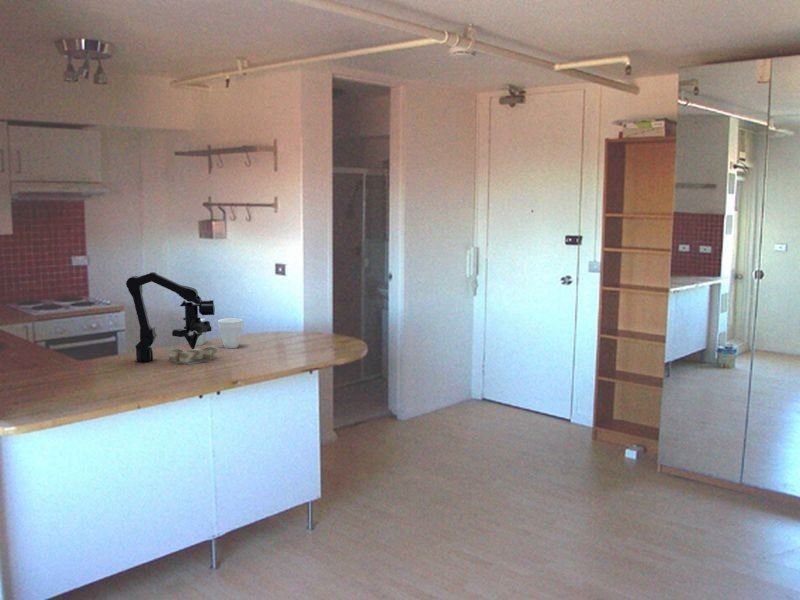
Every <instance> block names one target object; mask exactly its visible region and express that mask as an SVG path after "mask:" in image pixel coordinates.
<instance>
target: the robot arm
mask: <svg viewBox="0 0 800 600" xmlns="http://www.w3.org/2000/svg"><path fill="white" fill-rule="evenodd" d="M148 283H153V284H156V285H159V286H161V287H163V288H164V289H167V290H169V291H172V292H174V293H176V294H177V295H178V296H179V297H181V298H182V299H183V301H182V303H180V305H179V306H180V307H184V317H183V319H182V320H183V321H185V326H183V328H176V329H173V330H172V332H171V335H172V336H173V337H179V338H185V340H186V341H187V343H188V345H189V346H190V350H194V349H196V346H197V345H196V342H197V339H198V337H199V336H200V335H202V333H204V332H205V333H206V334H207V333H209V332H212V326H211V322H210V321H209V320H206V321H205V322H201V319H202V318H201V317H199V314H200V315H201V316H215V311H216V310H215V309H216V308H215V302H214V301H215V300H213V299H212V300H211V299H210V300H203V299H202V298H201V297H200V295H199V293H198V290H197V289H196V288H194V287H190V286H188V285H184V284H183V285H182V284H179V283H178V282H175V281H173V280H171V279H169V278H166V277H164V276H162V275H160V274H158V273H157V272H154V271H151V272H149V273H147V274H144V275H139V276H138V275H132V276H131V277H128V278H127V280H126V282H125V285H126V288H127V290H128V292H129V293H130V294H129V295H130V296H131V297H132V300H133V304H134V307H135V311H136V316H137V320H138V324H139V342H138V343H137V344H136V345H135V354H136V355H135V356H136V357H135V358H136V360H134V362H135V363H140V364H141V363H142V364H145V363H151V362H155V359H153V358H154V353H153V348H152V347H151V346H152V345H153V344H154V342H155V341H156V339H157V338H156V337H158V335H157V333H156V327H155V326H154V327H152V326H151V325H150V321H149V317H148V314H147V309H146V306H145V301H144V297H143V285H146V284H148Z"/></svg>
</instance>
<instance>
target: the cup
mask: <svg viewBox="0 0 800 600" xmlns="http://www.w3.org/2000/svg"><path fill="white" fill-rule="evenodd" d="M243 326H244V323H243V318H238V317H235V318H234V317H233V318H231V317H230V318H229V317H228V318H227V317H226V318H221V319H218V320H217V327H218V329H219V333H220V337H221V340H222V343H223V347H224V348H225V349H236V348H239V344H240V339H241V334H242V330H243Z"/></svg>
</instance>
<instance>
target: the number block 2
mask: <svg viewBox="0 0 800 600" xmlns="http://www.w3.org/2000/svg"><path fill="white" fill-rule="evenodd" d="M202 349H203V358H204V359H210V360H209V361H211V359H212V360H216V359H219V357H218V348H217V347H210V346H209V347H206V348H202ZM215 358H216V359H215Z"/></svg>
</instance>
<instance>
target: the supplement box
mask: <svg viewBox="0 0 800 600" xmlns="http://www.w3.org/2000/svg"><path fill="white" fill-rule="evenodd" d="M200 319H201V322H205V321H207V320H206V318H200ZM206 343H207V332H206V333H205V332H204V333H202V335H200V336H199V337H198V339H197V342H196V345H195V346H203V345H204V344H206Z"/></svg>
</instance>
